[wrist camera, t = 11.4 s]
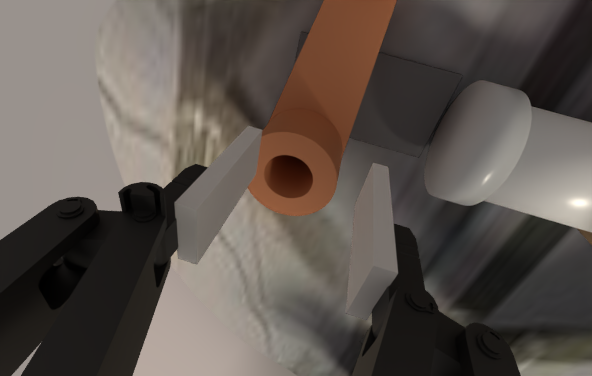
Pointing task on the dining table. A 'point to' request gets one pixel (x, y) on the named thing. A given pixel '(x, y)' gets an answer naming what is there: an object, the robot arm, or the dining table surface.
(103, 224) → the robot arm
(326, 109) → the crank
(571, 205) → the pipe stub
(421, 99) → the gasket mat
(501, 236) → the dining table surface
